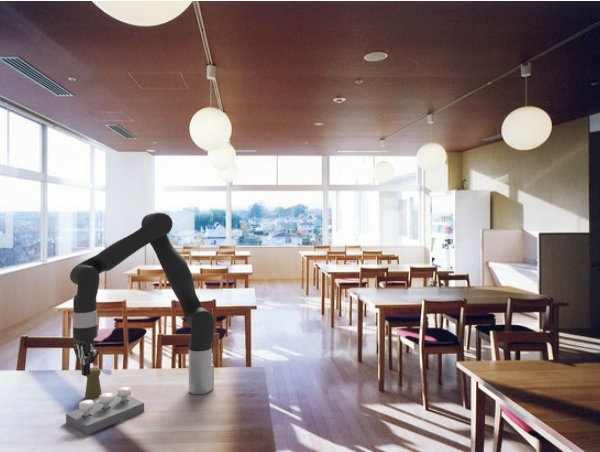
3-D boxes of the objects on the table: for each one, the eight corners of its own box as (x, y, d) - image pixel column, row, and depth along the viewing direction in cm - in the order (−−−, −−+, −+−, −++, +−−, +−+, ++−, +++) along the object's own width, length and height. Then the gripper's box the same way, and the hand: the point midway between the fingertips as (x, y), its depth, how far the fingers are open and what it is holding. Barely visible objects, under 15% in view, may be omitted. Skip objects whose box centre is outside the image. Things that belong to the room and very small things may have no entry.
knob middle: (108, 405, 155) (108, 391, 155) (115, 408, 152) (115, 394, 152) (96, 409, 151) (96, 396, 151) (103, 413, 149) (103, 399, 149)
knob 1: (89, 412, 149) (89, 398, 149) (96, 416, 147) (95, 401, 147) (76, 417, 146) (76, 403, 146) (83, 421, 143) (83, 406, 143)
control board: (122, 400, 165) (122, 393, 165) (144, 410, 156) (144, 402, 156) (66, 422, 148) (65, 413, 148) (86, 434, 139) (86, 425, 139)
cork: (95, 400, 165) (94, 371, 165) (81, 398, 166) (80, 370, 166) (105, 393, 171) (104, 366, 171) (91, 392, 172) (91, 365, 172)
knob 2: (126, 398, 161) (126, 385, 161) (133, 401, 158) (133, 388, 158) (115, 402, 157) (115, 389, 157) (122, 405, 155) (122, 392, 154)
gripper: (106, 324, 144) (107, 376, 145) (86, 319, 152) (86, 367, 153) (84, 329, 138) (84, 383, 139) (64, 323, 146) (65, 373, 147)
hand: (85, 374), depth 146 cm, fingers closed
